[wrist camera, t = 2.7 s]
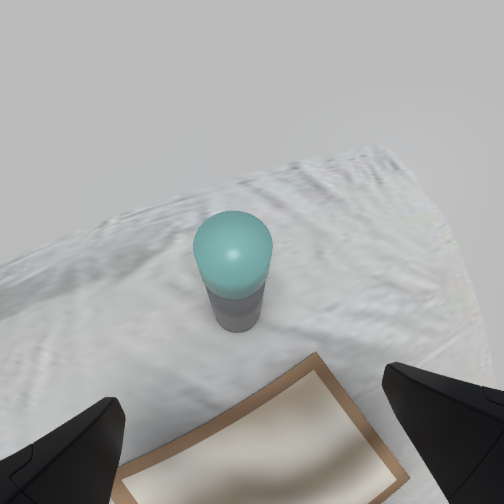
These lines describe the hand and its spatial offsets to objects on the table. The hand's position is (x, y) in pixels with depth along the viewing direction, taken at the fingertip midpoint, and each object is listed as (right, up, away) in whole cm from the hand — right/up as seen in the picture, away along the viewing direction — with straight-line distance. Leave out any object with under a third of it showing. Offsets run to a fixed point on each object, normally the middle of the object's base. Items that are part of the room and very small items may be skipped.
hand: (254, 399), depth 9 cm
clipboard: (0, -13, +8) cm, 15 cm away
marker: (-1, 0, +15) cm, 15 cm away
